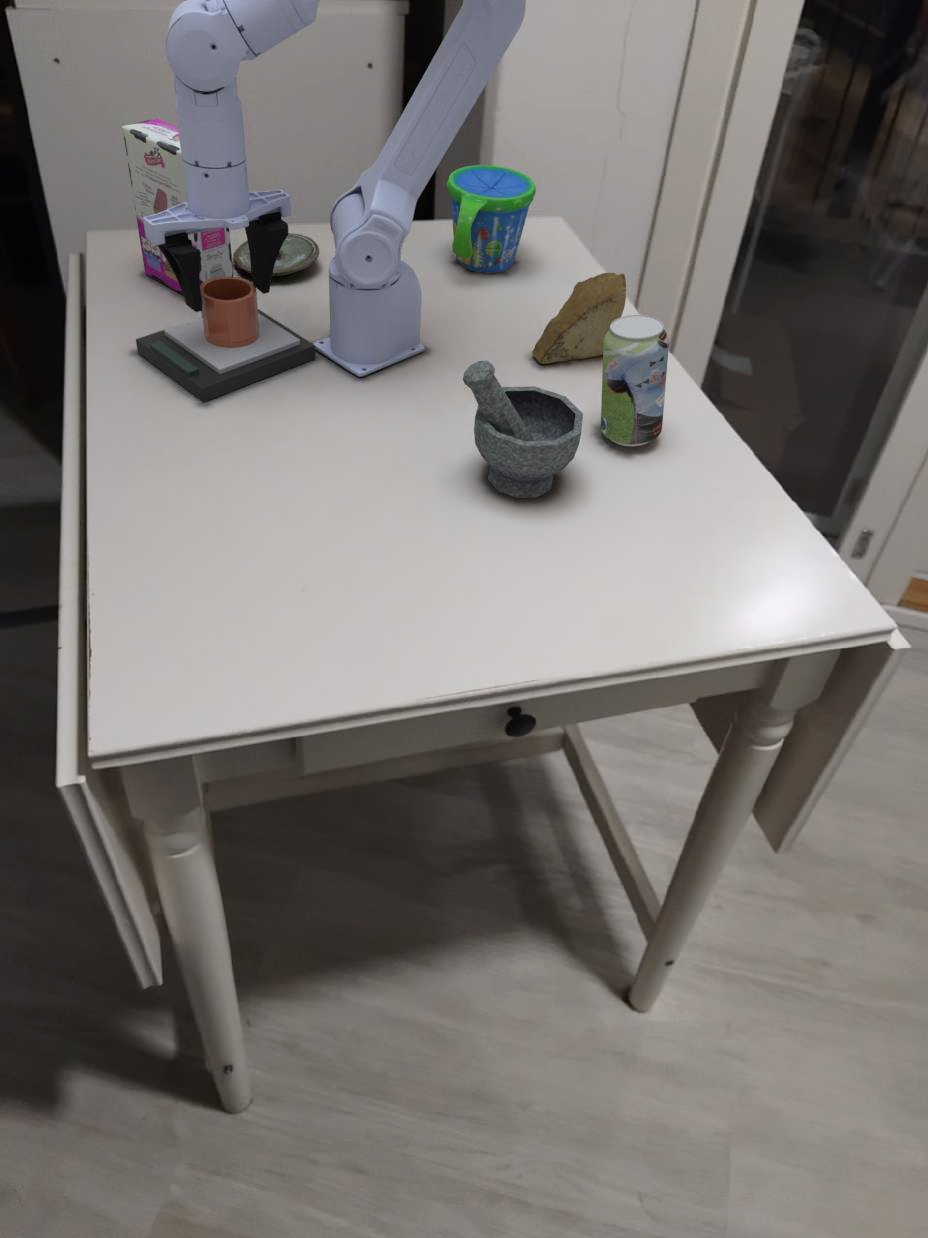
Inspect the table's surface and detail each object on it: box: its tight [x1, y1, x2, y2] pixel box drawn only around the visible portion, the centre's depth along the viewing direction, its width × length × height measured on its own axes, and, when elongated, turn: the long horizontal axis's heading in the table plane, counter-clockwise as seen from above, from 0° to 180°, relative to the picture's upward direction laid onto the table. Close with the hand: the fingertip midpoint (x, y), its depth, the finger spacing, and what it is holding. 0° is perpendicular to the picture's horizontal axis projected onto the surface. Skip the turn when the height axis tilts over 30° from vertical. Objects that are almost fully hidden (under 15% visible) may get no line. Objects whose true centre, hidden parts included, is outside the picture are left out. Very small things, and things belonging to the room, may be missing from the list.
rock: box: [531, 272, 627, 365], centre depth 104 cm, size 11×9×10 cm
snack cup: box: [446, 164, 537, 274], centre depth 117 cm, size 16×10×10 cm
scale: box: [135, 308, 316, 403], centre depth 99 cm, size 14×12×2 cm
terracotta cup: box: [200, 276, 259, 348], centre depth 97 cm, size 6×6×5 cm
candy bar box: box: [121, 118, 235, 295], centre depth 105 cm, size 11×5×16 cm, turn 49°
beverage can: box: [600, 314, 670, 447], centre depth 91 cm, size 6×7×12 cm
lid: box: [232, 232, 320, 277], centre depth 114 cm, size 11×10×5 cm
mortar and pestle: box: [462, 360, 584, 499], centre depth 84 cm, size 11×9×12 cm
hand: (228, 298), depth 96 cm, fingers open, 7 cm apart
